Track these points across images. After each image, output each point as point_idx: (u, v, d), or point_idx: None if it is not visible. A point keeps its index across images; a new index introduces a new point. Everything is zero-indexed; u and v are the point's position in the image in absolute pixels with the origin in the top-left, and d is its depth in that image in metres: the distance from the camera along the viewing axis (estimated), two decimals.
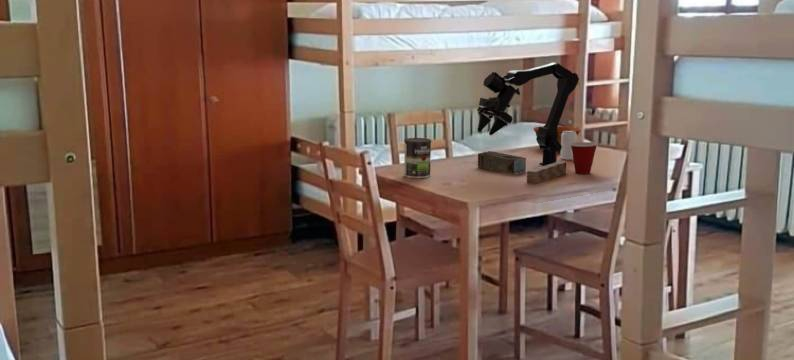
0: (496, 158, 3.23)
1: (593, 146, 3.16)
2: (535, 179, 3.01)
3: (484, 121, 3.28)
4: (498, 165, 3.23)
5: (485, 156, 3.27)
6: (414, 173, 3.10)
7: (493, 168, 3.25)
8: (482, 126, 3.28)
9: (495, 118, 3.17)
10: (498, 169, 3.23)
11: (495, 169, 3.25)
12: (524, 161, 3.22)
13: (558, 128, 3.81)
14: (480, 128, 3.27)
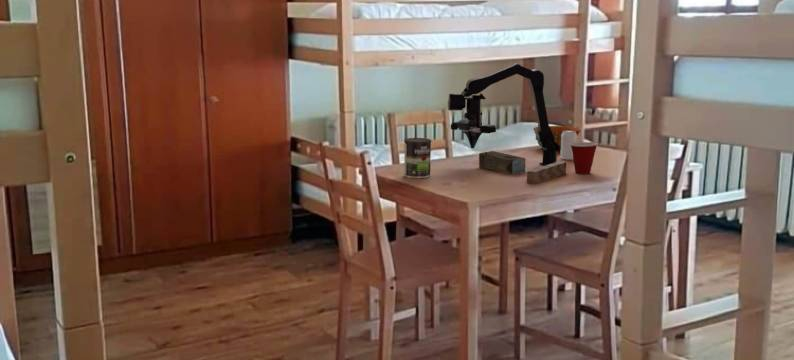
0: (496, 158, 3.24)
1: (593, 146, 3.16)
2: (535, 179, 3.01)
3: None
4: (497, 165, 3.23)
5: (486, 156, 3.28)
6: (414, 173, 3.10)
7: (493, 168, 3.26)
8: None
9: (473, 134, 3.30)
10: (498, 169, 3.24)
11: (495, 169, 3.25)
12: (523, 161, 3.21)
13: (558, 128, 3.81)
14: None
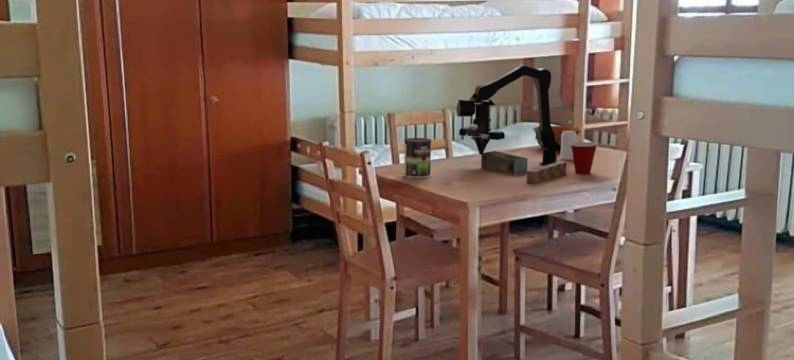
0: (498, 158, 3.23)
1: (593, 146, 3.16)
2: (535, 179, 3.01)
3: None
4: (499, 165, 3.23)
5: (488, 156, 3.28)
6: (414, 173, 3.10)
7: (495, 168, 3.25)
8: None
9: (481, 140, 3.28)
10: (499, 169, 3.23)
11: (497, 169, 3.25)
12: (525, 161, 3.20)
13: (558, 128, 3.81)
14: None
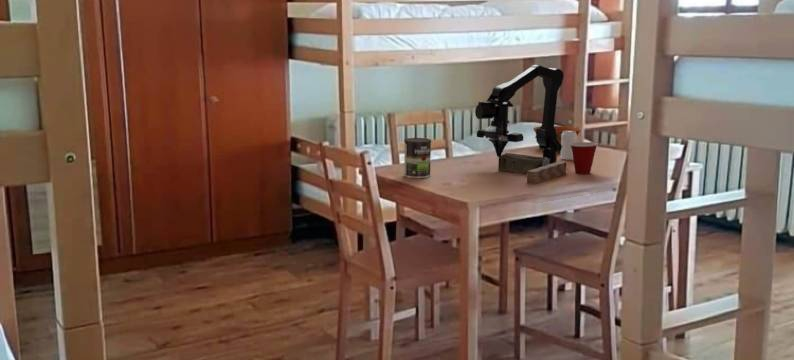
0: (521, 160, 3.20)
1: (593, 146, 3.16)
2: (535, 179, 3.01)
3: None
4: (523, 167, 3.20)
5: (508, 158, 3.23)
6: (414, 173, 3.10)
7: (517, 170, 3.21)
8: None
9: (500, 142, 3.23)
10: (523, 171, 3.20)
11: (520, 171, 3.21)
12: (548, 161, 3.21)
13: (558, 128, 3.81)
14: None
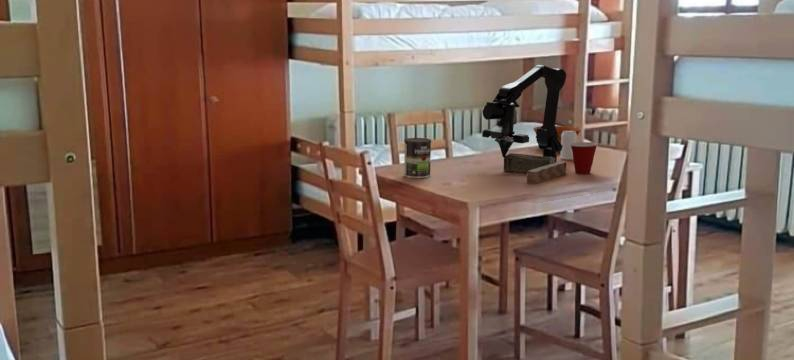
0: (527, 160, 3.19)
1: (593, 146, 3.16)
2: (535, 179, 3.01)
3: None
4: (529, 167, 3.19)
5: (513, 158, 3.21)
6: (414, 173, 3.10)
7: (523, 170, 3.20)
8: None
9: (505, 143, 3.21)
10: None
11: (526, 171, 3.20)
12: (554, 161, 3.21)
13: (558, 128, 3.81)
14: (504, 153, 3.25)
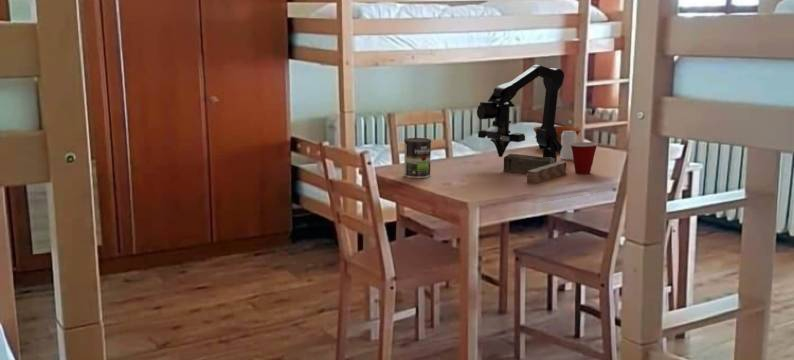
0: (527, 160, 3.19)
1: (593, 146, 3.16)
2: (535, 179, 3.01)
3: None
4: (529, 167, 3.19)
5: (513, 159, 3.21)
6: (414, 173, 3.10)
7: (523, 171, 3.20)
8: None
9: (502, 142, 3.22)
10: None
11: (526, 171, 3.20)
12: (554, 161, 3.21)
13: (558, 128, 3.81)
14: None
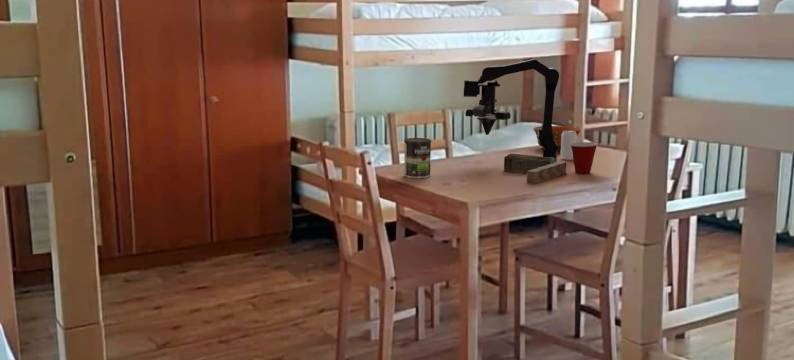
0: (528, 160, 3.19)
1: (593, 146, 3.16)
2: (535, 179, 3.01)
3: (487, 123, 3.38)
4: (530, 167, 3.19)
5: (514, 159, 3.22)
6: (414, 173, 3.10)
7: (524, 170, 3.21)
8: None
9: (488, 120, 3.34)
10: None
11: (526, 171, 3.20)
12: (554, 161, 3.21)
13: (558, 128, 3.81)
14: None
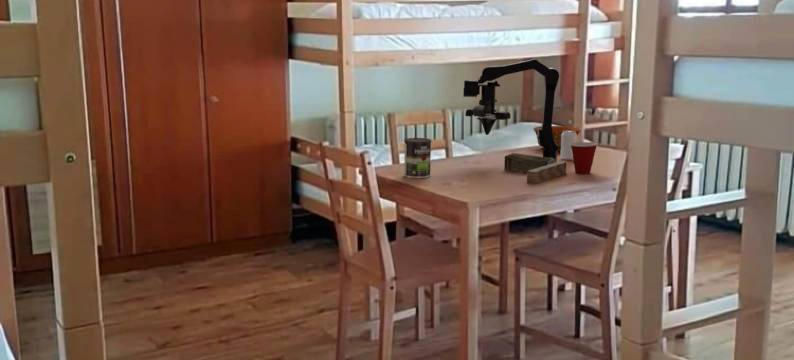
0: (526, 160, 3.20)
1: (593, 146, 3.16)
2: (535, 179, 3.01)
3: (486, 123, 3.38)
4: (528, 167, 3.20)
5: (513, 158, 3.23)
6: (414, 173, 3.10)
7: (523, 170, 3.21)
8: None
9: (488, 120, 3.34)
10: None
11: (525, 171, 3.21)
12: (554, 162, 3.20)
13: (558, 128, 3.81)
14: None
